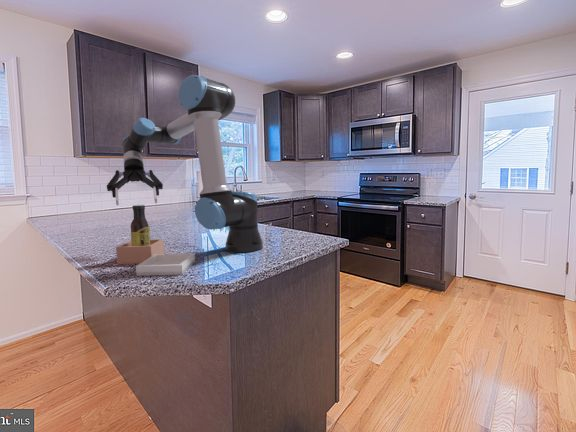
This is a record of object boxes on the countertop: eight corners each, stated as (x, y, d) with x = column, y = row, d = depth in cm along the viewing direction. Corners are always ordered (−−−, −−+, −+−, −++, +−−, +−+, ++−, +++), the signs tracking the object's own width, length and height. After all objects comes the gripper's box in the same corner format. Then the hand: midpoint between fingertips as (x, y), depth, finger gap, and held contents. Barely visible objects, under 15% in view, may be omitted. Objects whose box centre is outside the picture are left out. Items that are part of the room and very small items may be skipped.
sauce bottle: (144, 261, 112) (139, 206, 110) (128, 261, 114) (123, 206, 111) (155, 256, 119) (151, 204, 116) (140, 256, 120) (136, 204, 117)
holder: (164, 254, 122) (163, 239, 121) (152, 263, 110) (150, 246, 109) (133, 255, 122) (132, 240, 121) (117, 263, 110) (115, 247, 109)
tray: (195, 261, 110) (194, 253, 110) (182, 274, 97) (181, 265, 96) (155, 263, 110) (154, 254, 110) (136, 275, 96) (135, 266, 96)
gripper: (164, 170, 142) (170, 206, 131) (101, 171, 131) (101, 210, 120) (165, 157, 137) (171, 193, 125) (98, 157, 126) (98, 197, 115)
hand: (137, 201), depth 123 cm, fingers open, 13 cm apart
